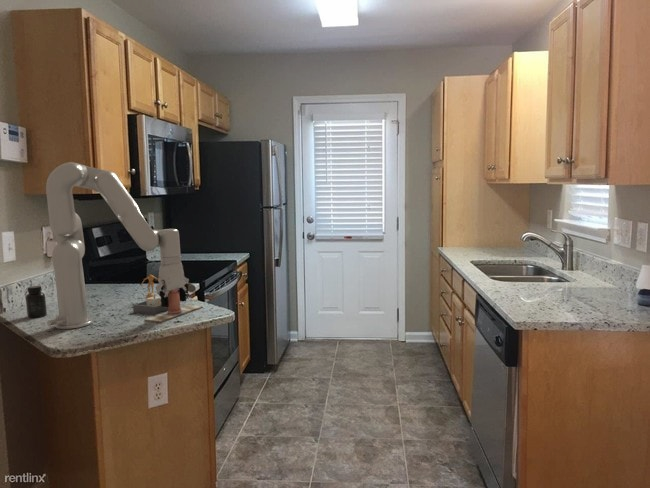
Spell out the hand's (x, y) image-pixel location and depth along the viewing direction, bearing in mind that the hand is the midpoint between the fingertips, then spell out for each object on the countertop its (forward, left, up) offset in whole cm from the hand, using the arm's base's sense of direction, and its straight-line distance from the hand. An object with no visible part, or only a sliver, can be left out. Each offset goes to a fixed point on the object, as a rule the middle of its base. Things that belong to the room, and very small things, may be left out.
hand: (174, 303), depth 205 cm
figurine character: (+25, +21, -4) cm, 33 cm away
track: (0, 0, -4) cm, 4 cm away
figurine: (+14, +26, -4) cm, 30 cm away
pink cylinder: (0, 0, -4) cm, 4 cm away
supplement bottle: (-21, +53, -4) cm, 57 cm away
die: (+3, +13, -4) cm, 14 cm away
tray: (+3, +13, -4) cm, 14 cm away
